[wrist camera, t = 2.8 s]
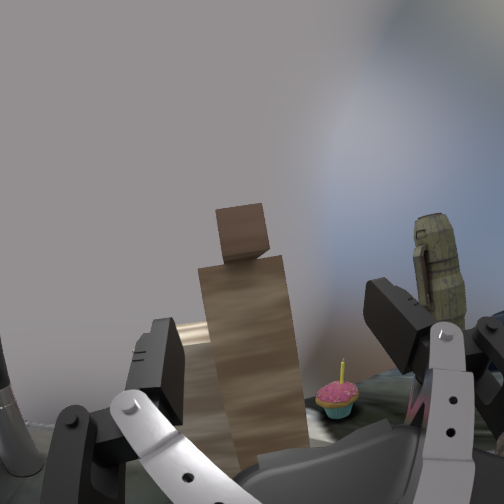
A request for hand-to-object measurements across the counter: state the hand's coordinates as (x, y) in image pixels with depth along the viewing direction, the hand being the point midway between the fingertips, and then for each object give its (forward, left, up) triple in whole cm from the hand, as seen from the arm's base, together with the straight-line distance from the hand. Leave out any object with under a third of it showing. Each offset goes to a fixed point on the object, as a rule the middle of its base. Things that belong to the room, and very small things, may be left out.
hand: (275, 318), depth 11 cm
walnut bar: (-16, +9, +3) cm, 19 cm away
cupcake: (-25, +32, -29) cm, 50 cm away
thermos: (-6, +42, -29) cm, 51 cm away
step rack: (-22, +8, -29) cm, 37 cm away
